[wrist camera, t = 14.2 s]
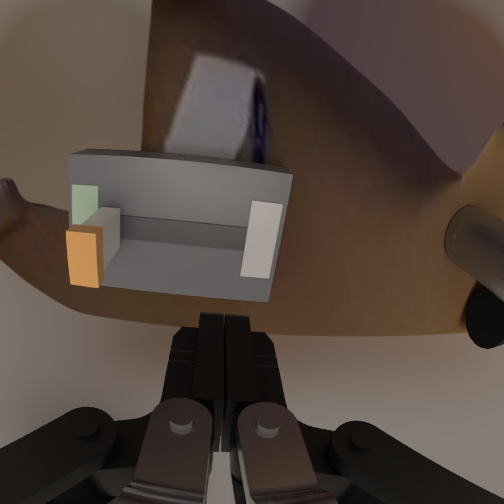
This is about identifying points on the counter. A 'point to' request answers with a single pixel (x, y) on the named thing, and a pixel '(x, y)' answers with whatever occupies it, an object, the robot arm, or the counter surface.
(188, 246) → the breaker housing
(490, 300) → the black cylinder
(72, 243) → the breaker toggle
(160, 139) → the counter surface
